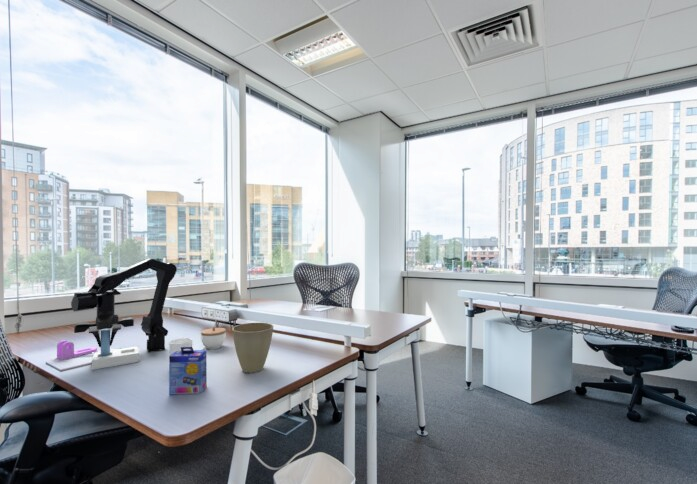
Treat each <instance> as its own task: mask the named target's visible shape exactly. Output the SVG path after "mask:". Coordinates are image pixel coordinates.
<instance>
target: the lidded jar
mask: <svg viewBox="0 0 697 484" xmlns="http://www.w3.org/2000/svg"><path fill="white" fill-rule="evenodd" d="M200 334H201V338H200V339H201V343H202V345H203V346H204V347H205V348H206V350H217V349H220V348H221V347H222V346H223V345H224V343H225V341H226V338H227V337H226V336H227V328H224V327H216V326H212V327H211V328H206V329H203V330H201V332H200Z"/></svg>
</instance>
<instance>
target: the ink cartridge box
mask: <svg viewBox="0 0 697 484" xmlns="http://www.w3.org/2000/svg"><path fill="white" fill-rule="evenodd" d="M183 349H191V350H183ZM168 357H169V358H168V363H169V364H168V368H169V369H168V370H169V371H168V372H169V373H168V375H169V376H168V382H169V383H168V395H199V394H202V393H203V391H204V390H206V388H207V386H208V385H207V382H208V381H207V377H208V376H207V374H208V373H207V370H208V369H207V367H208V366H207V349H205V350H204V349H203V350H202V349H201V350H199V349H198V350H194V348H193V346H192V347H181V351H176V352H174V353H173V354H171V355H170V354H169V356H168Z"/></svg>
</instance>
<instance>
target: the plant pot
mask: <svg viewBox="0 0 697 484" xmlns="http://www.w3.org/2000/svg"><path fill="white" fill-rule="evenodd" d="M273 331H274V324H272V323H267V322H248V323H247V322H245V323H241V324H238V325H235V326H233V327H232V337H233V343H234V348H235V352H236V355H237V359H238V362H239V365H240V367H241V370H242V372H243V371H244V372H243V373H245V372H249V373H248V374H253V373H252V372H255V373H258V372H257V371H259V372H261V371H263V370H264V367H265V364H266V361H267V358H268V354H269V351H270V348H271V344H272V343H271V342H272V339H273ZM260 370H261V371H260Z"/></svg>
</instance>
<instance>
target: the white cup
mask: <svg viewBox="0 0 697 484" xmlns="http://www.w3.org/2000/svg"><path fill="white" fill-rule="evenodd" d="M168 345H169V356H170V355H171V354H173V353H174V352H176V351H181V347H192V348H193V339H192V338H190V337H189V338H188V337H183V338H176V339H175V338H174V339H173V340H170V341H168ZM183 350H191V349H183Z"/></svg>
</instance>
